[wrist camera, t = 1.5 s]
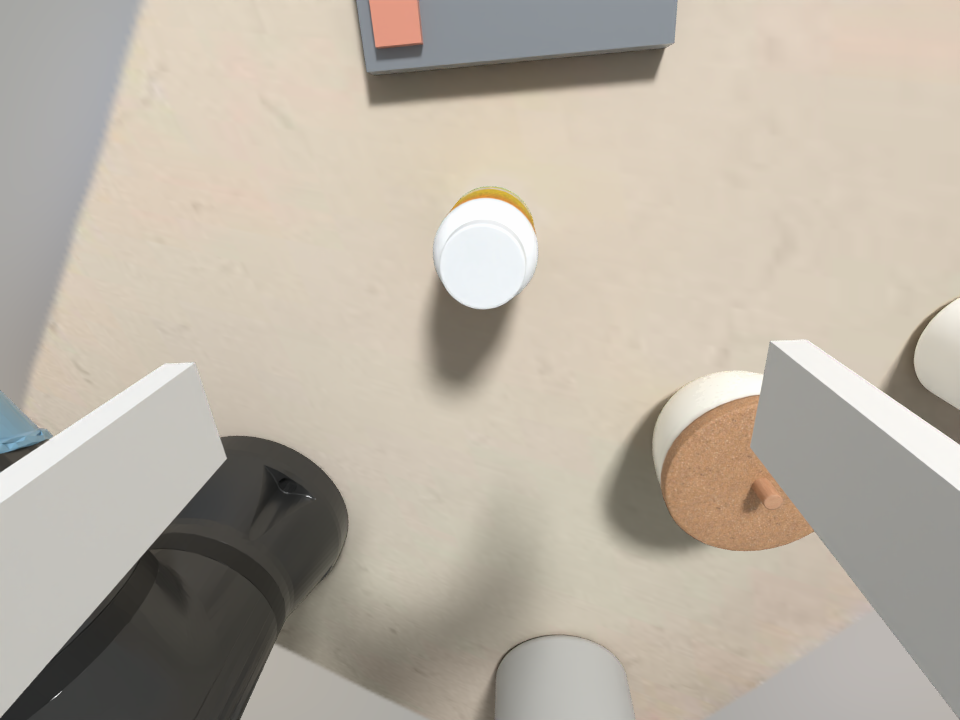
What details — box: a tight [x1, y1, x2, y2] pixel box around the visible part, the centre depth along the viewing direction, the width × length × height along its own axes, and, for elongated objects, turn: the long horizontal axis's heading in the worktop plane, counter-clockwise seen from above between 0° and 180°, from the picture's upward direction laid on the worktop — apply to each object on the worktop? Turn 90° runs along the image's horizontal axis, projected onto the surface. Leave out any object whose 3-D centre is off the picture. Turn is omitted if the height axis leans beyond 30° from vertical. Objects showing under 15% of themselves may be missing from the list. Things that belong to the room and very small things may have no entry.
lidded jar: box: [652, 371, 814, 551], centre depth 31 cm, size 11×11×9 cm
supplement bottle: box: [433, 186, 538, 309], centre depth 27 cm, size 5×5×10 cm
